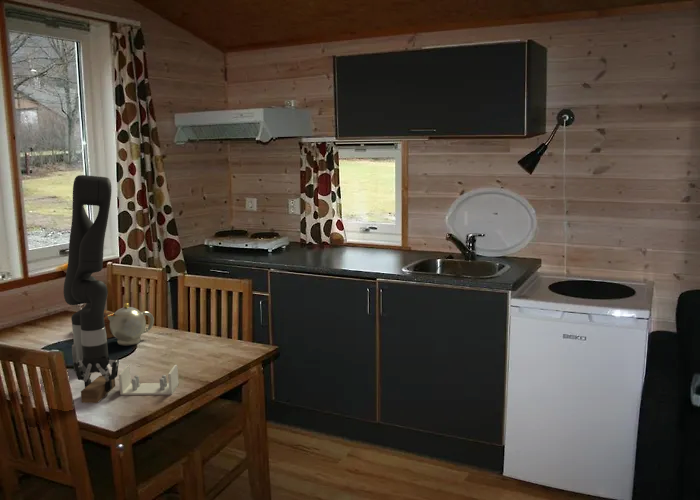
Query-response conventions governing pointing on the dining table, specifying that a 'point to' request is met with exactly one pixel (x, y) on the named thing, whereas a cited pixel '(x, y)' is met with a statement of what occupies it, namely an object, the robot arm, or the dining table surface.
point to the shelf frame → (147, 384)
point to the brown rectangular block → (95, 390)
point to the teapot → (129, 325)
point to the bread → (107, 323)
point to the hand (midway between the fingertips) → (98, 391)
